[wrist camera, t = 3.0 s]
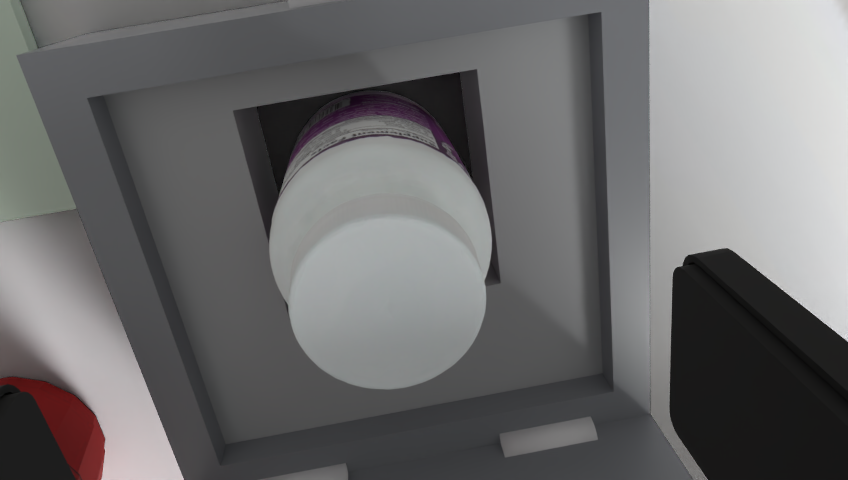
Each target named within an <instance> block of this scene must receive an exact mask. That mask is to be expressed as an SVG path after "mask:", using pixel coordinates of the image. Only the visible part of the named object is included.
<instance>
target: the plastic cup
mask: <svg viewBox="0 0 848 480" xmlns="http://www.w3.org/2000/svg"><path fill="white" fill-rule="evenodd" d="M7 384H10V385H14V386H15V387H17V388H18V389H19V390H20V391H21V392H28V393H30V394H31V395H32V396H33V397H34V399H35V400H36V402H37V404H38V406H39V408H40V410H41V412H42V414H43V416H44V418H45V420H46V422H47V424H48V426H49V428H50V430H51V432H52V434H53V436H54V438H55V440H56V441H57V443H58V445H59V447H60V449H61V451H62V453H63V455H64V457H65V459H66V461H67V463H68V465H69V467H70V469H71V471H72V473H73V475H74V477H75V479H76V480H101V478H102V472H103V463H104V454H105V450H104V444H105V437H104V435H103V433H102V430H101V428H100V425H99V423H98V420H97V418H96V416H95V415H94V414H93V413H92V412H91V411H90V410H89V409H88V408H87V407H86V406H85V405H84V404H83V403H82V402H81V401H80V400H79V399H78V398H77V397H76V396H75V395H73V394H71V393H68V392H66V391H64V390H62V389H60V388H58V387H56V386H54V385H52V384H50V383H47V382H45V381H38V380H31V379H25V378H18V377H7V378H1V379H0V386H1V385H7Z"/></svg>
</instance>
